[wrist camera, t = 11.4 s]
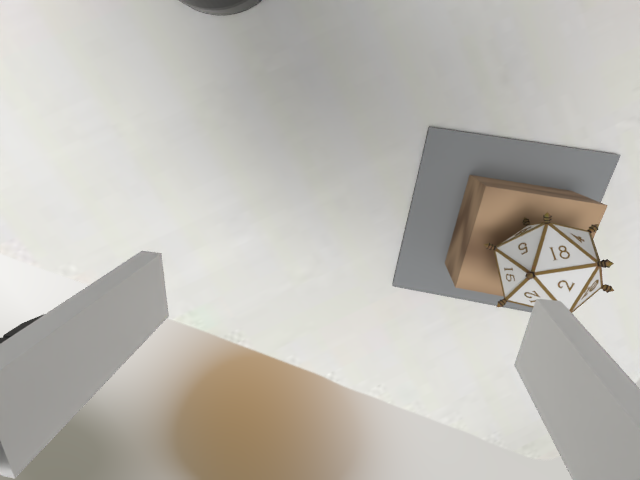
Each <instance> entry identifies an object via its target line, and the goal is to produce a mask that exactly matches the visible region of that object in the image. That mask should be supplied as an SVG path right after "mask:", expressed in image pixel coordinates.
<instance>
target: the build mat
mask: <svg viewBox="0 0 640 480" xmlns="http://www.w3.org/2000/svg"><path fill="white" fill-rule="evenodd" d="M619 158H620V155H618V154H611V153H604V152H598V151H591V150H584V149H577V148H570V147H563V146H557V145H550V144H543V143H536V142H529V141H523V140H516V139H509V138H502V137H495V136H489V135H482V134H475V133H468V132H461V131H455V130H448V129H441V128H434V127H429V129H428V133H427V137H426V142H425V146H424V150H423V155H422V159H421V163H420V168H419V172H418V176H417V181H416V185H415V189H414V194H413V198H412V202H411V206H410V211H409V215H408V219H407V224H406V228H405V232H404V237H403V241H402V245H401V250H400V254H399V258H398V263H397V267H396V271H395V275H394V280H393V286H394V287H400V288H405V289H410V290H416V291H421V292H426V293H432V294H437V295H442V296H447V297H453V298H458V299H463V300H469V301H474V302H479V303H484V304H490V305H495V306H497V304H498V301H500V300H502V299H504V296H498V295H493V294H487V293H482V292H477V291H471V290H466V289H461V288H455V285H454V283H453V281H452V279H451V276H450V274H449V272H448V270H447V267H446V265H445V260H446V257H447V253H448V249H449V246H450V242H451V239H452V235H453V232H454V228H455V225H456V221H457V218H458V214H459V211H460V207H461V204H462V200H463V196H464V193H465V189H466V186H467V182H468V179H469V175H474V176H481V177H487V178H493V179H500V180H506V181H512V182H519V183H525V184H531V185H538V186H544V187H550V188H557V189H563V190H570V191H573V192H576V193H578V194H581V195H583V196H585V197H588V198H590V199H593V200H595V201H598V202H600V203H601V200H602V198H603V196H604V193H605V191H606V189H607V186H608V184H609V181H610V179H611V177H612V174H613V172H614V170H615V167H616V165H617V163H618V160H619ZM503 307H506V308H511V309H516V310H521V311H527V312H532V310H533V308H532V307H528V306H524V305H519V304H515V303H511V302H506V305H504V306H503Z"/></svg>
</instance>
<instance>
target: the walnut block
mask: <svg viewBox="0 0 640 480" xmlns="http://www.w3.org/2000/svg"><path fill="white" fill-rule="evenodd" d="M606 208H607V205H605V204H603V203H600V202H598V201H595V200H593V199H590V198H588V197H585V196H583V195H581V194H578V193H576V192H573V191H570V190H563V189H557V188H550V187H544V186H538V185H531V184H525V183H519V182H512V181H506V180H500V179H493V178H487V177H481V176H474V175H469V179H468V182H467V186H466V189H465V193H464V196H463V200H462V204H461V207H460V211H459V214H458V218H457V221H456V225H455V228H454V232H453V235H452V239H451V242H450V246H449V249H448V253H447V257H446V260H445V265H446V267H447V270H448V272H449V274H450V276H451V279H452V281H453V283H454V285H455V288H461V289H466V290H471V291H477V292H482V293H487V294H493V295H498V296H503V291H502V287H501V282H500V277H499V273H498V268H497V263H496V259H495V254H494V250H492V249H491V250H489V249H486V247H485V246H484V245H483V244H487V243H490V244H493V245H494V246H497V245H498V244H500V243H501V242H503V241H504V240H506V239H507V238H509V237H510V236H512V235H513V234H515V233H516V232H518V231H519V230H521V229H522V228H524V227H525V225H524V223H523V220H524V217H525V218H527V219H529V221H530V224H536V223H541V222H545V221H544V219H543V218H544V217H543V215H545V214H546V213H547V212H548V213H549V214H550V215H551V216H552V217H551V219H552V220H550V222H553V223H557V224H561V225H566V226H570V227H575V228H579V229H583V230H588V229H589V227H591V225H595V224H600V222H601V219H602V217H603V215H604V212H605V210H606ZM596 231H597V230H596ZM595 233H596V232H592V233H591V235H592V238H594V235H595Z"/></svg>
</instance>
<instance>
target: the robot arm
mask: <svg viewBox="0 0 640 480" xmlns="http://www.w3.org/2000/svg"><path fill="white" fill-rule="evenodd" d="M179 1H181V2H182V3H184V4H186V5H188V6H189V7H191V8H193V9H195V10H198V11H200V12H203V13H207V14H212V15H231V14H236V13H239V12H242V11H245V10H247V9H249V8H251V7H253V6H254V5H256V4H257V3H259V2H260V1H261V0H179ZM168 316H169V315H168V306H167V298H166V289H165V281H164V272H163V264H162V255H161V253H155V252H147V251H141V252H140V253H138V254H136V255H135V256H133V257H132V258H130V259H129V260H127V261H126V262H124V263H123V264H121V265H120V266H118V267H117V268H115V269H114V270H112V271H111V272H109V273H107V274H106V275H104V276H103V277H101V278H100V279H98V280H97V281H95V282H94V283H92V284H91V285H89V286H88V287H86V288H85V289H83V290H82V291H80V292H79V293H77V294H76V295H74V296H72V297H71V298H70V299H68V300H66V301H65V302H63V303H62V304H60V305H59V306H57V307H56V308H54V309H53V310H51V311H50V312H48V313H47V314H45V315H41V316H39V317H37V318H34V319H32V320H29V321H27V322H24V323H22V324H20V325H19V326H18V327H16V328H14V329H13V330H11V331H9V332H8V333H6V334H5V335H4V336H3V338H0V475H1V476H7V477H11V478H16V476H18V474H19V473H20V472H21V471H22V470H23V469H24V468H25V467H26V466H27V465H28V464H29V463H30V462H31V461H32V459H34V457H35V456H36V455H37V454H38V453H39V452H40V451H41V450H42V449H43V448H44V447H45V446H46V445H47V444H48V443H49V442H50V441H51V439H53V437H54V436H55V435H56V434H57V433H58V432H59V431H60V430H61V429H62V428H63V427H64V426H65V425H66V424H67V423H68V422H69V421H70V420H71V419H72V418H73V417H74V415H75V414H76V413H77V412H78V411H79V410H80V409H81V408H82V407H83V406H84V405H85V404H86V403H87V402H88V401H89V400H90V399H91V398H92V396H93V395H94V394H95V393H96V392H97V391H98V390H99V389H100V388H101V387H102V386H103V385H104V384H105V383H106V381H108V380H109V379H110V378H111V377H112V375H113V374H114V373H115V372H116V371H117V370H118V369H119V368H120V367H121V366H122V365H123V364H124V363H125V362H126V361H127V360H128V359H129V357H130V356H131V355H132V354H133V353H134V352H135V351H136V350H137V349H138V348H139V347H140V346H141V345H142V344H143V343H144V342H145V341H146V339H147V338H148V337H149V336H150V335H151V334H152V333H153V332H154V331H155V330H156V329H157V328H158V327H159V326H160V325H161V324H162V323H163V321H165V320H166V319H167V318H168ZM515 367H516V369H517V371H518V373H519V375H520V377H521V379H522V381H523V383H524V385H525V387H526V389H527V391H528V393H529V395H530V397H531V399H532V401H533V403H534V405H535V407H536V408H537V410H538V412H539V414H540V416H541V418H542V420H543V422H544V424H545V426H546V428H547V430H548V432H549V434H550V436H551V438H552V440H553V442H554V444H555V446H556V448H557V450H558V452H559V454H560V456H561V457H562V459H563V461H564V463H565V465H566V467H567V469H568V471H569V473H570V475H571V477H572V479H573V480H640V389H639V388H638V387H637V385H636V384H635V383H634V382H633V381H632V380H631V379H630V378H629V376H628V375H627V374H626V373H625V372H624V371H623V370H622V369H621V368H620V366H619V365H618V364H617V363H616V362H615V361H614V360H613V359H612V358H611V356H610V355H609V354H608V353H607V352H606V351H605V350H604V349H603V347H602V346H601V345H600V344H599V343H598V342H597V341H596V340H595V339H594V337H593V336H592V335H591V334H590V333H589V332H588V331H587V330H586V329H585V327H584V326H583V325H582V324H581V323H580V322H579V321H578V320H577V318H576V317H575V316H574V315H573V314H572V313H571V312H570V311H569V310H568V308H567V307H566V306H565V305H564V304H563V303H562V302H561V301H554V300H546V299H537V298H536V301H535V304H534V307H533V310H532V313H531V316H530V319H529V322H528V325H527V328H526V331H525V334H524V337H523V340H522V343H521V346H520V350H519V353H518V356H517V359H516V362H515Z"/></svg>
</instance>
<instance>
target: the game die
mask: <svg viewBox="0 0 640 480" xmlns="http://www.w3.org/2000/svg"><path fill="white" fill-rule="evenodd" d="M543 217H544V218H543V219H544V221H545V222H541V223H536V224H530V221H529V219H527V218H525V217H524V220H523V223H524V225H525V227H524V228H522V229H521V230H519V231H518V232H516V233H515V234H513V235H512V236H510V237H509V238H507V239H506V240H504V241H503V242H501V243H500V244H498V245H497V246H494V245H493V244H490V243H487V244H483V245H484V246H485V247H486V249H489V250H491V249H492V250H494V254H495V259H496V263H497V268H498V273H499V277H500V282H501V287H502V291H503V296H504V299H502V300H500V301H498V304H497V307H503V306H504V305H506V302H511V303H515V304H519V305H524V306H528V307H532V308H533V307H534V304H535V301H536V298H537V299H546V300H554V301H561V302H562V303H563V304H564V305H565V306H566V307H567V308H568V310H569V311H570V312H571V313H572V312H573V311H575V310H576V309H577V308H578V307H579V306H581V305H582V304H583V303H584V302H585V301H586V300H588V299H589V298H590V297H591V296H592V295H594V294H595V293H596V292H597V291H598V290H599V289H603V291H606V292H607V293H608V292H610V291H614V290H613V289H612V286H608V285H603V281H602V269H601V267H605V268H606V267H608V268H610V266H611V265H612V264H614V263H612V262H610V261H609V260H608V259H607V260H602V261H601V262H600V259H599V256H598V253H597V250H596V247H595V244H594V241H593V238H592V235H591V233H592V232H596V230H598V226H599V224H595V225H591V227H589V229H588V230H583V229H579V228H575V227H570V226H566V225H561V224H557V223H553V222H550V220H552V219H551V217H552V216H551V215H550V214H549V213H548V212H547V213H546V214H545V215H543Z"/></svg>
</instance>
